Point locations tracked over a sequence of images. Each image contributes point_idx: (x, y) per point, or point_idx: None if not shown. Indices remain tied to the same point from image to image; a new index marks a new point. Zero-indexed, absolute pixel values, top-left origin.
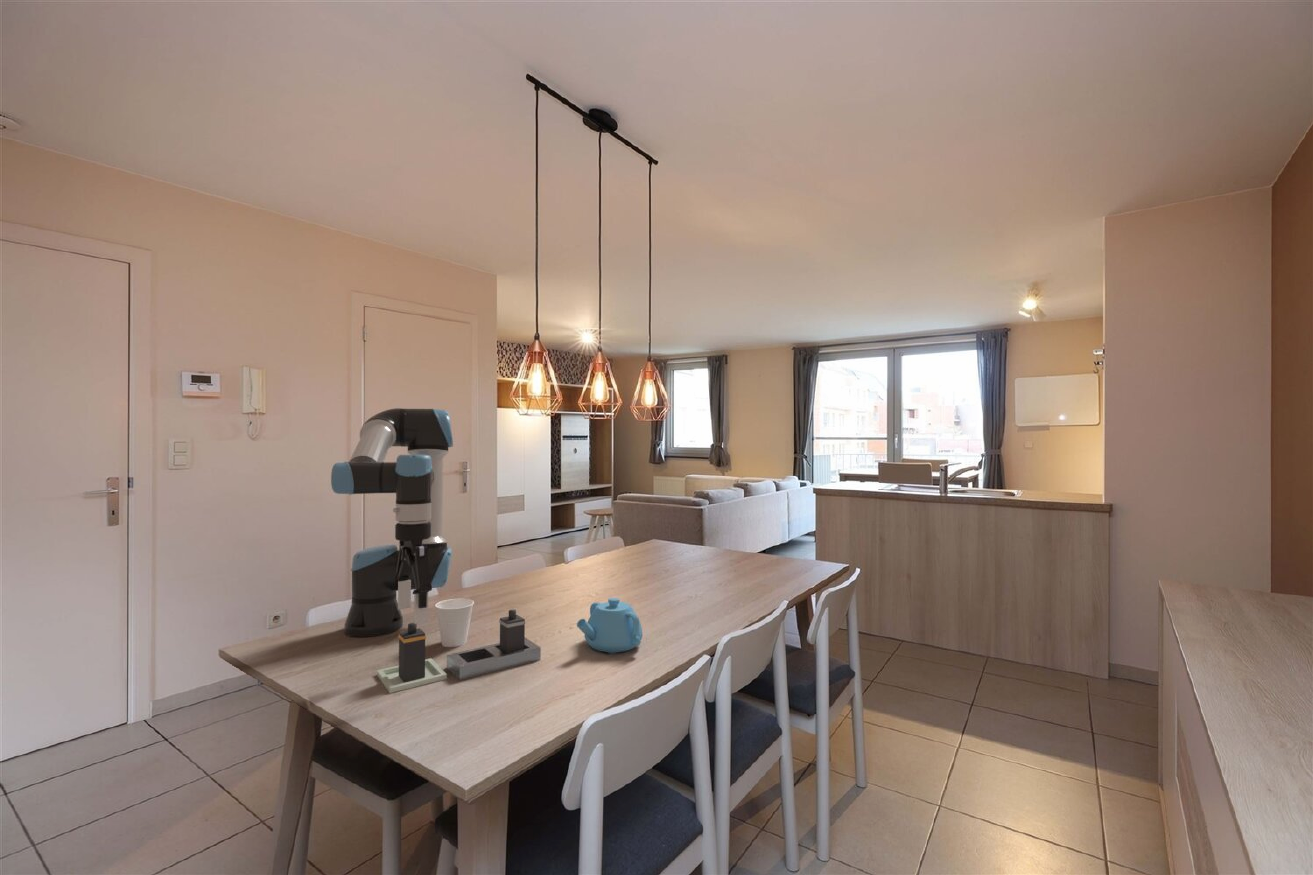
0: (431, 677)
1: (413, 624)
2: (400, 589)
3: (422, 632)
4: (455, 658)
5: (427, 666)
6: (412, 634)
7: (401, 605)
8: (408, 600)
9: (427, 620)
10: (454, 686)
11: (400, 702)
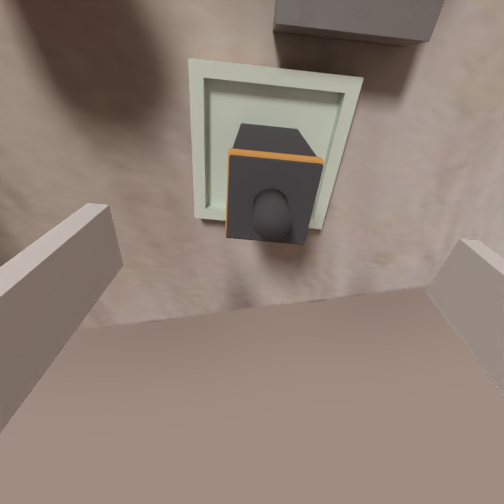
0: (344, 129)
1: (281, 221)
2: (41, 362)
3: (299, 170)
4: (340, 9)
5: (221, 85)
6: (292, 211)
7: (109, 265)
8: (83, 243)
9: (482, 246)
10: (410, 76)
11: (368, 217)
